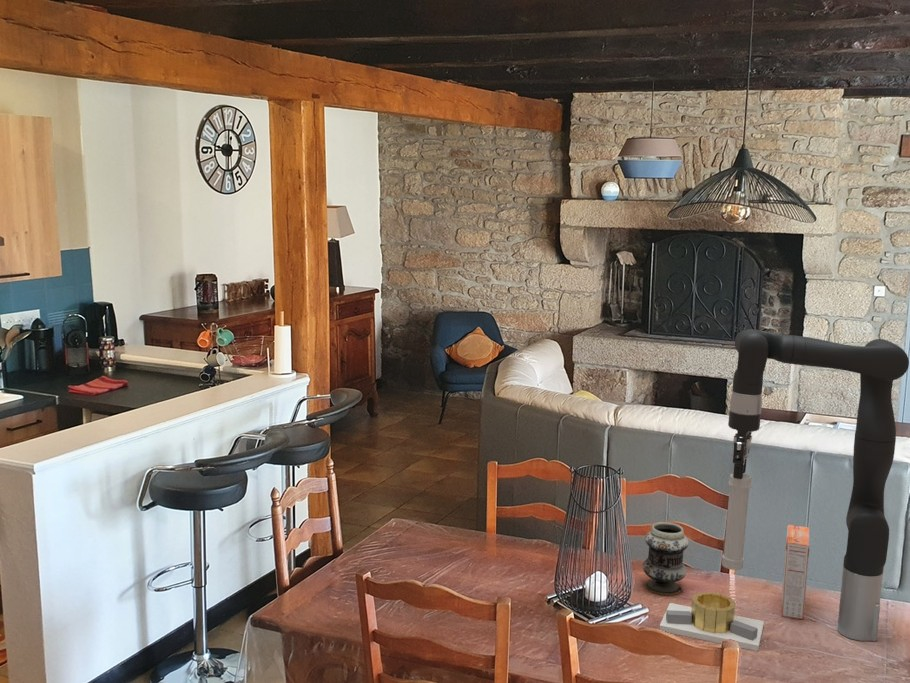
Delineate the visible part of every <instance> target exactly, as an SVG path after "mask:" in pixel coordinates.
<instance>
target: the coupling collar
mask: <svg viewBox="0 0 910 683" xmlns="http://www.w3.org/2000/svg"><path fill="white" fill-rule="evenodd" d="M691 607H692V609H691V615H692V622H691V623H692V624H693V625H694V626H695V627H697V628H699V629H701V630H703V631H706V632H711V633H726V632H729V631H730V625H731V623H732V622H733V621H734V618H735V616H736V601H735V600H734V599H733V598H732V597H729V596H728V595H725V594H723V593H717V592H712V591H706V592H704V591H703V592H698V593H696V594H693V597H692V599H691Z"/></svg>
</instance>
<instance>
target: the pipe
mask: <svg viewBox="0 0 910 683" xmlns="http://www.w3.org/2000/svg"><path fill="white" fill-rule="evenodd" d="M728 454H729V455H730V456H731V457H733V454H732V453H730V452H728ZM733 474H734V472H732V473H730V475H729V480H728V483H727V484H728V486H729V492H728V493H729V494H728V495H729V496H728V503H727V506H728V507H727V514H726V524H725V525H726V527H725V539H724V550H723V553H722V556H721V558H722V559H721V564H722V565H721V566H722V567H724V568H725V569H727V570H728V569H729V570H732V571H740V570H742V569H743V567H744V562H745V557H744V551H745V550H744V549H745V541H746V540H745V537H746V528H747V517H748V508H749V497H750V488H752V476H751V475H749V474H746V473H743V478H742V479H736V478H734V477H733Z"/></svg>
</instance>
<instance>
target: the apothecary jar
mask: <svg viewBox="0 0 910 683" xmlns="http://www.w3.org/2000/svg"><path fill="white" fill-rule="evenodd" d="M644 541H645V544H646V545H647V546H648V555H647V558H646V559H645V560H644V562H643V564H642V570H643V572H644V573H645V575H646V576H647V577H649V579H650V580H648V581H647V582H645V588H646V590H648V591H649V592H652V593H654V594H657V595H661V596H676V595H678V594H680V592H681V591H682V587H681V585H680V584H679V583H677V582H680V581H682V580H683V579H684V578H685V577H686V576H687V572H688V571H687V567H686V565H685V564H684V551H685V550H686V549H687V548H688V547H689V539H688V537H687V536H686V535H685V534H684V529H683V527H682V526H680V525H679V524H677V523H674V522H669V521H668V522H667V521H659V522H656V523H654V524H652V526H651V530H650V531H648V532H647V533H646V535H645V538H644Z"/></svg>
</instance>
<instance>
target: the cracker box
mask: <svg viewBox="0 0 910 683" xmlns="http://www.w3.org/2000/svg"><path fill="white" fill-rule="evenodd" d="M786 529H787V530H786V536H785V537H786V538H785V547H784V548H785V549H784V561H783V562H784V563H783V573H782V574H783V575H782V593H781V594H782V595H781V617H785V618H790V619H797V620H805V608H806V595H807V594H806V593H807V584H808V582H807V581H808V571H809V570H808V569H809V559H810V558H809V557H810V556H809V555H810V527H807V526H799V525H793V524H788V525H787V528H786Z"/></svg>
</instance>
